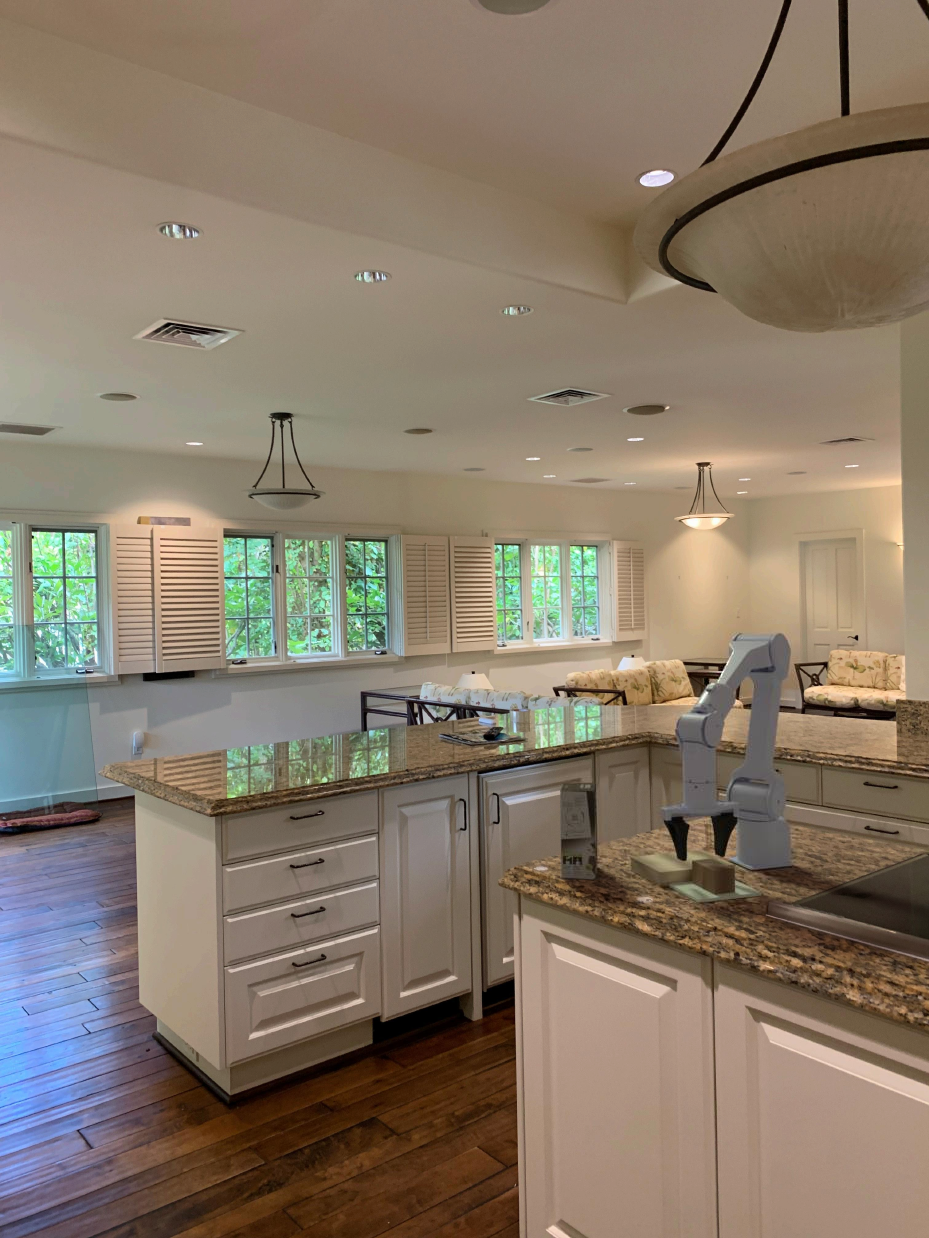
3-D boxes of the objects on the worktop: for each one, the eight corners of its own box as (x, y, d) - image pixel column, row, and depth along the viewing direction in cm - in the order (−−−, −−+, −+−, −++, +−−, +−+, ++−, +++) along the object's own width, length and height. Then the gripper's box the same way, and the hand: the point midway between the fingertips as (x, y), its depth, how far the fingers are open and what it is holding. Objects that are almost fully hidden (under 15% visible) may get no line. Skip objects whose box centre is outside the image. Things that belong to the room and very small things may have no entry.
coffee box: (596, 880, 159) (594, 790, 160) (560, 878, 161) (559, 790, 161) (598, 866, 168) (597, 781, 168) (564, 865, 170) (563, 781, 170)
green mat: (728, 879, 158) (728, 877, 158) (761, 895, 149) (761, 892, 149) (669, 886, 155) (669, 883, 155) (698, 902, 145) (698, 899, 145)
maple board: (701, 862, 169) (701, 849, 169) (734, 878, 159) (734, 864, 159) (631, 870, 165) (630, 856, 165) (660, 886, 155) (659, 872, 155)
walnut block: (712, 858, 156) (734, 868, 149) (712, 881, 156) (735, 892, 149) (691, 860, 155) (714, 870, 148) (692, 883, 155) (714, 894, 148)
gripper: (722, 774, 162) (724, 848, 162) (651, 779, 158) (653, 855, 157) (745, 780, 155) (746, 858, 155) (671, 786, 151) (673, 865, 151)
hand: (701, 857), depth 156 cm, fingers open, 7 cm apart
